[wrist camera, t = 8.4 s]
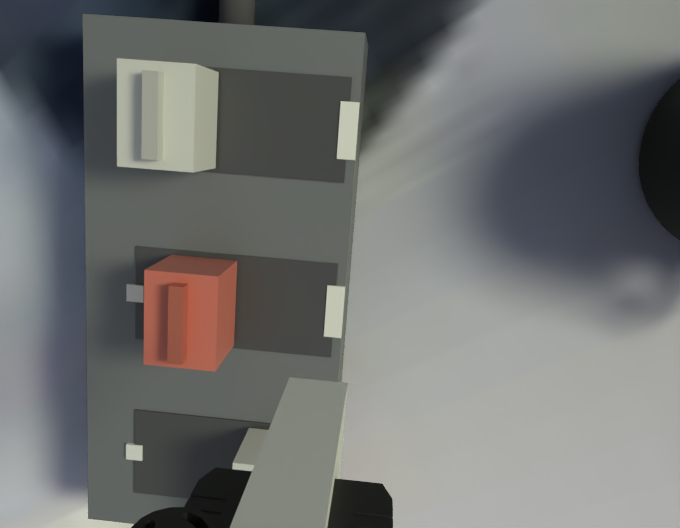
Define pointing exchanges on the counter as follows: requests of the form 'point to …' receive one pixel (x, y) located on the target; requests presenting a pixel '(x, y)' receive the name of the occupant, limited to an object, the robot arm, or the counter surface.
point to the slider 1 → (166, 115)
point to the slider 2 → (189, 312)
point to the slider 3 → (249, 449)
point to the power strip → (216, 244)
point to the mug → (663, 161)
